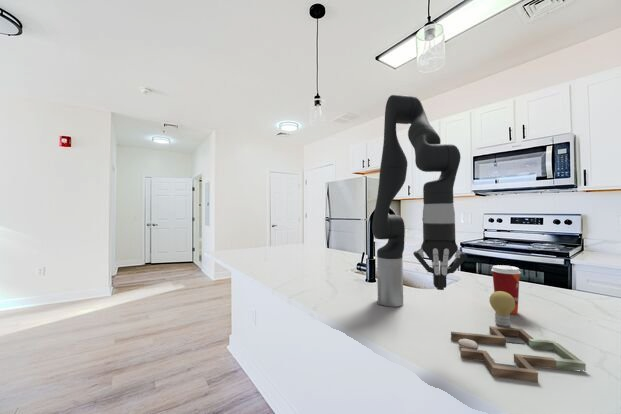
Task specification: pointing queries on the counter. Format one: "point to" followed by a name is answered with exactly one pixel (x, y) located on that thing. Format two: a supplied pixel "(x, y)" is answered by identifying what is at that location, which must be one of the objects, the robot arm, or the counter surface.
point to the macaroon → (468, 344)
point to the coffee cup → (507, 282)
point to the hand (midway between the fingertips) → (440, 289)
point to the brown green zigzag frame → (522, 361)
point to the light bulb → (502, 307)
